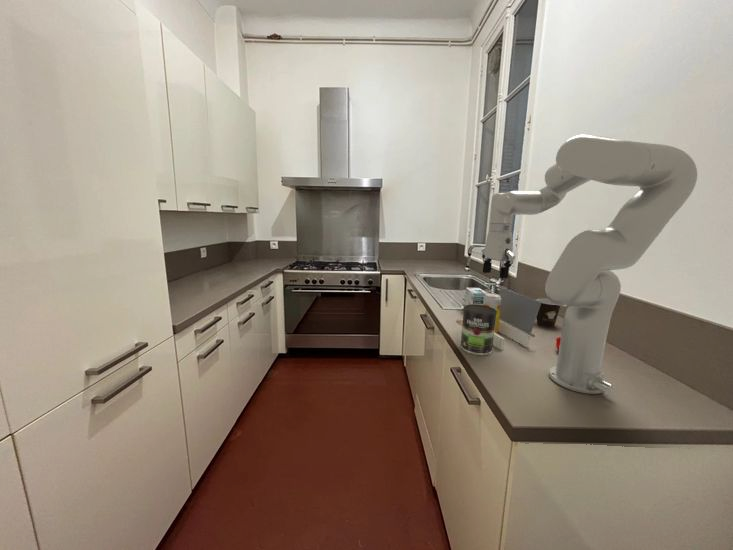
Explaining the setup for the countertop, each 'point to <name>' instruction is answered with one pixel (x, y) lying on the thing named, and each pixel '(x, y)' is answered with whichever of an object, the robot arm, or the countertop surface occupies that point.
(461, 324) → the coaster
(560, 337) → the apple
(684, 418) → the countertop surface
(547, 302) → the coffee mug
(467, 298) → the light bulb box
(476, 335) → the coffee can
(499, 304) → the beer can
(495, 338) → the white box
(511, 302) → the cover
